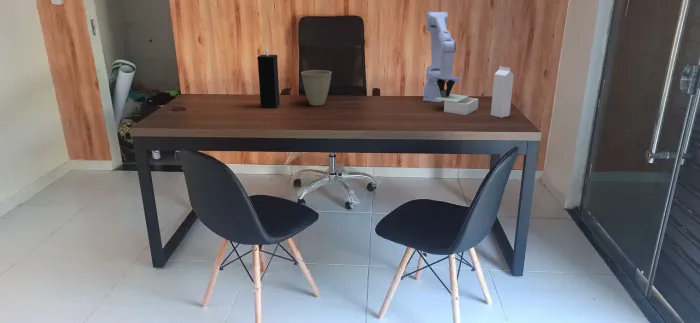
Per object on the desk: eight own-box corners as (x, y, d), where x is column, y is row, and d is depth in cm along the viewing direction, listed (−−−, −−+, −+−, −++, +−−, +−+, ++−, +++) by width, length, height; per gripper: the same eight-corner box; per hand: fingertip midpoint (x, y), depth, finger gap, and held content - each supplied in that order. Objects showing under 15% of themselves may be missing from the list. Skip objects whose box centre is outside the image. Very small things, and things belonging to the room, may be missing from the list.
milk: (501, 118, 220) (506, 68, 213) (490, 115, 225) (494, 66, 217) (509, 115, 224) (514, 67, 216) (498, 113, 228) (503, 65, 220)
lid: (434, 99, 232) (435, 92, 231) (447, 94, 243) (447, 87, 241) (456, 102, 226) (457, 95, 225) (468, 97, 237) (469, 90, 235)
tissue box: (280, 104, 247) (277, 47, 238) (276, 108, 240) (273, 49, 230) (264, 104, 248) (261, 47, 238) (260, 108, 240) (256, 49, 231)
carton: (443, 111, 231) (444, 101, 229) (456, 106, 242) (456, 96, 240) (466, 115, 225) (466, 104, 223) (477, 109, 236) (478, 98, 234)
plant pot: (331, 107, 241) (330, 74, 236) (300, 107, 241) (299, 74, 236) (332, 100, 255) (332, 69, 250) (304, 100, 255) (302, 69, 250)
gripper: (428, 66, 232) (427, 95, 237) (457, 69, 224) (455, 98, 229) (435, 64, 238) (434, 92, 242) (463, 67, 230) (461, 96, 234)
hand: (445, 95), depth 236 cm, fingers closed on lid, 2 cm apart
